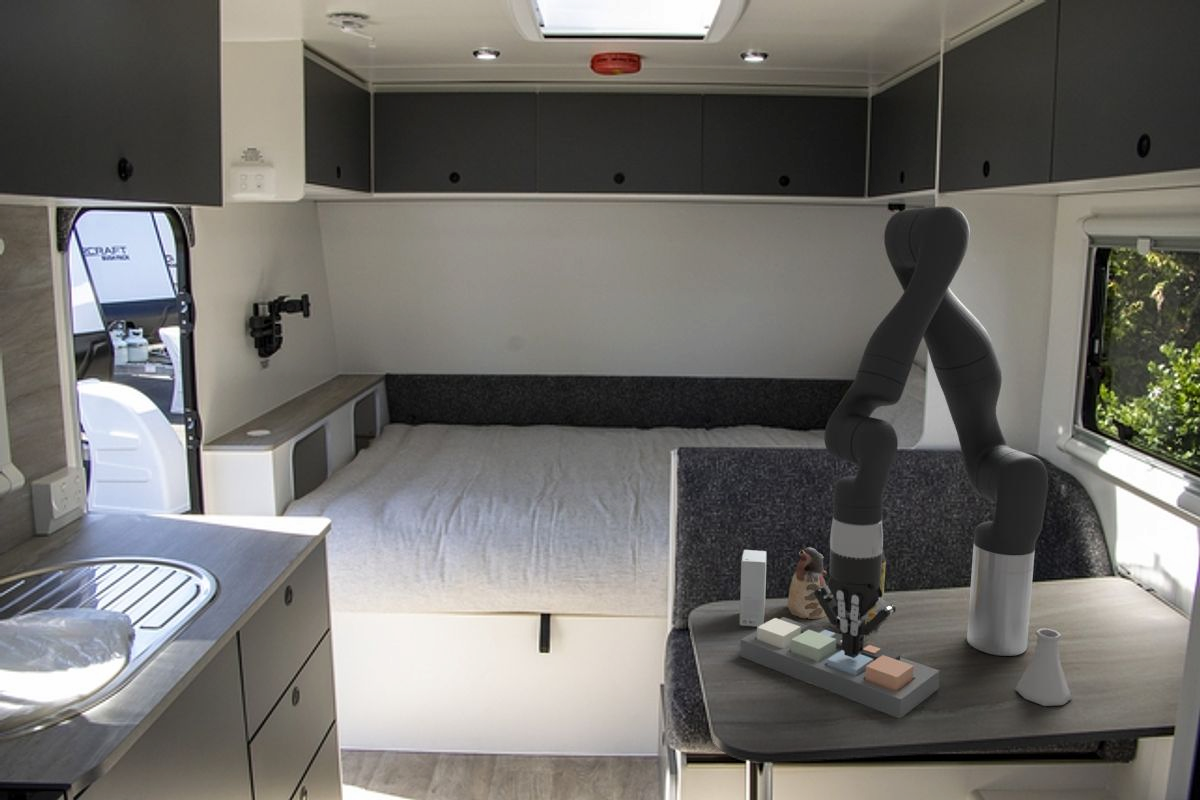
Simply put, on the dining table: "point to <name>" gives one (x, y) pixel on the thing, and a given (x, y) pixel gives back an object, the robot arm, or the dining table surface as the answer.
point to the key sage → (813, 645)
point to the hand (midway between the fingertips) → (852, 654)
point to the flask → (1045, 673)
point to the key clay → (889, 673)
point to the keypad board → (841, 681)
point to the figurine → (807, 585)
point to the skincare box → (753, 588)
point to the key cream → (778, 633)
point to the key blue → (849, 663)
